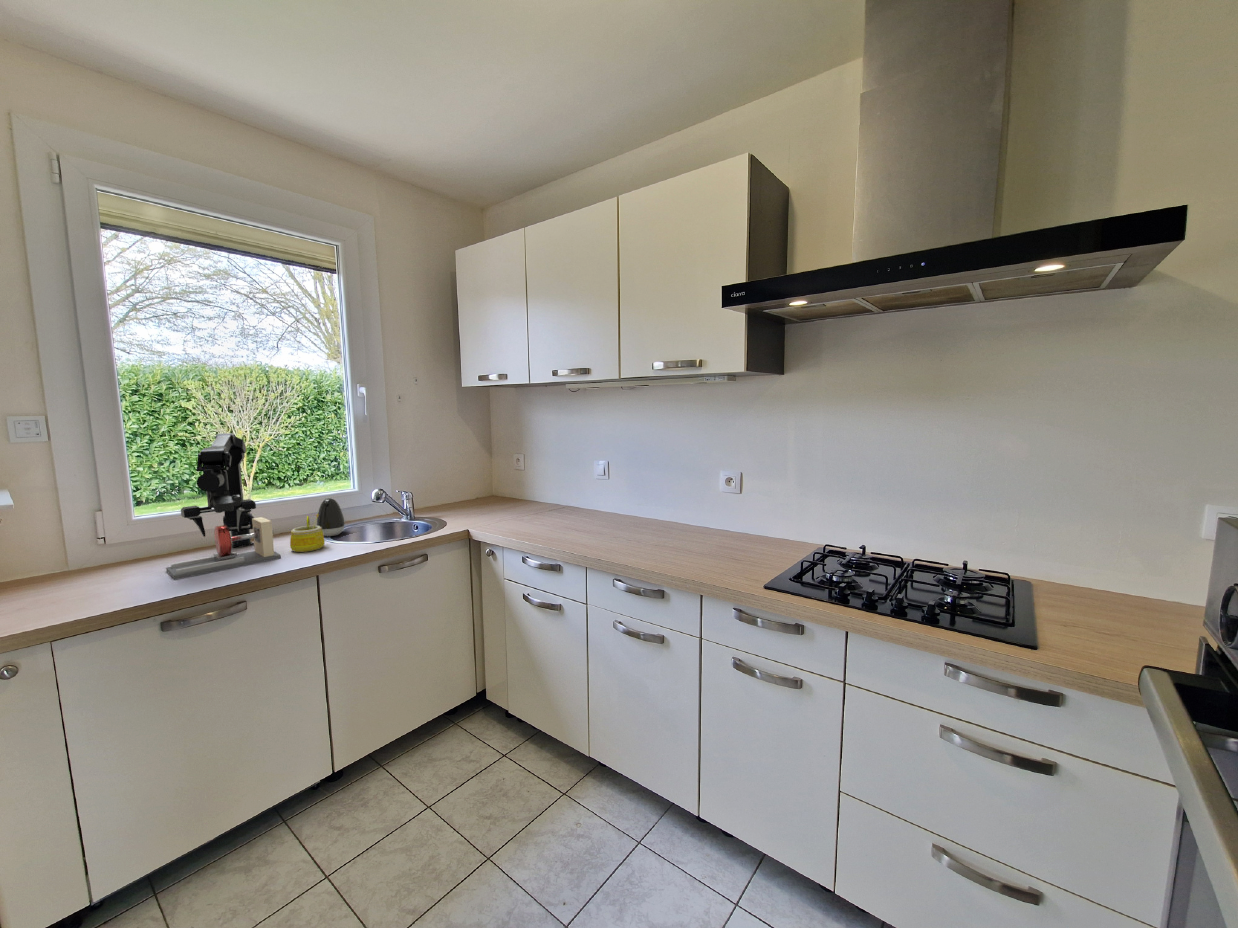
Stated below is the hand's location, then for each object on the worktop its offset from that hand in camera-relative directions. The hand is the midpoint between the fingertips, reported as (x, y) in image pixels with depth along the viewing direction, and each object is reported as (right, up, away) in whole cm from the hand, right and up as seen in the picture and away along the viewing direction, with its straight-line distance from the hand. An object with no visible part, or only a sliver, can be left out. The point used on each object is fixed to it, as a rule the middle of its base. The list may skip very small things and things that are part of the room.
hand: (222, 533), depth 165 cm
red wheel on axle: (+4, -8, +5) cm, 11 cm away
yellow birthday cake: (+17, -9, +20) cm, 27 cm away
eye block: (+1, -10, +2) cm, 11 cm away
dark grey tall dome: (+13, -6, +40) cm, 42 cm away
